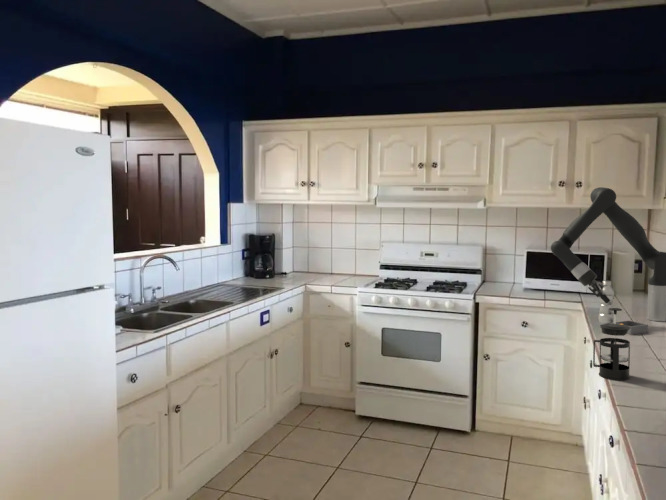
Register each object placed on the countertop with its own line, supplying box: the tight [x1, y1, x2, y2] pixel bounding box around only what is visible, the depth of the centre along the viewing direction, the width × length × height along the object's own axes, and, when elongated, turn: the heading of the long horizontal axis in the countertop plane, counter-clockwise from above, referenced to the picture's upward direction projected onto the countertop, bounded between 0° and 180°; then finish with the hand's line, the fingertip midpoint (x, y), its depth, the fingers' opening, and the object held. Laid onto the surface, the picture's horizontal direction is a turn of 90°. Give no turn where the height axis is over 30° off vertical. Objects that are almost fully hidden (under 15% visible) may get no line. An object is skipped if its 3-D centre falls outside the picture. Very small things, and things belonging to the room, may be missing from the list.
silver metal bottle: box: [598, 280, 615, 324], centre depth 261 cm, size 6×7×20 cm
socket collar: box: [611, 320, 649, 336], centre depth 251 cm, size 10×10×4 cm
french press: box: [592, 307, 631, 381], centre depth 187 cm, size 12×9×23 cm
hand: (610, 300), depth 260 cm, fingers closed on silver metal bottle, 6 cm apart
